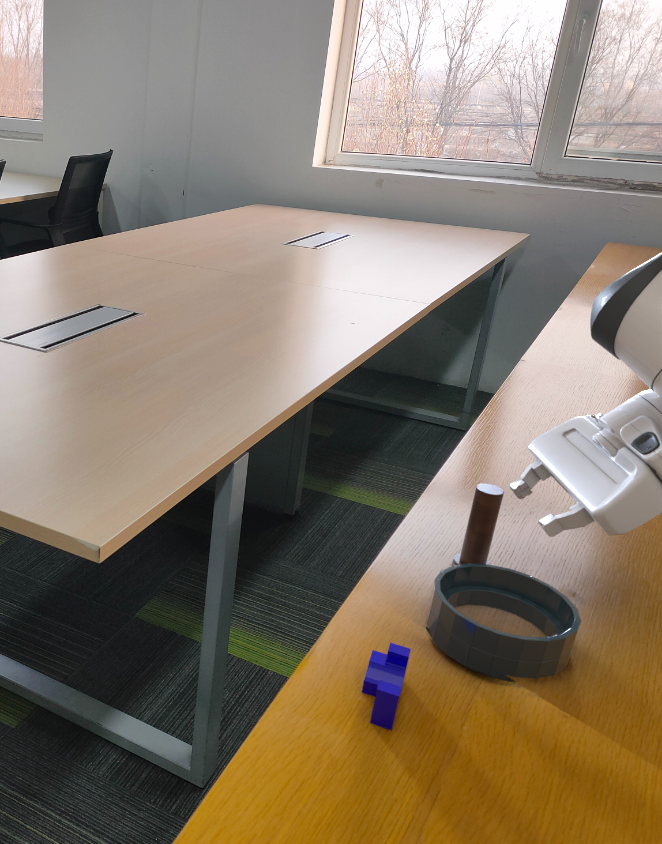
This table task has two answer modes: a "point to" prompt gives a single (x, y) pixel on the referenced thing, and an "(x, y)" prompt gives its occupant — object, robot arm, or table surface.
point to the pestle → (480, 525)
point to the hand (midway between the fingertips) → (528, 510)
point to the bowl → (493, 647)
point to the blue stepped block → (386, 683)
